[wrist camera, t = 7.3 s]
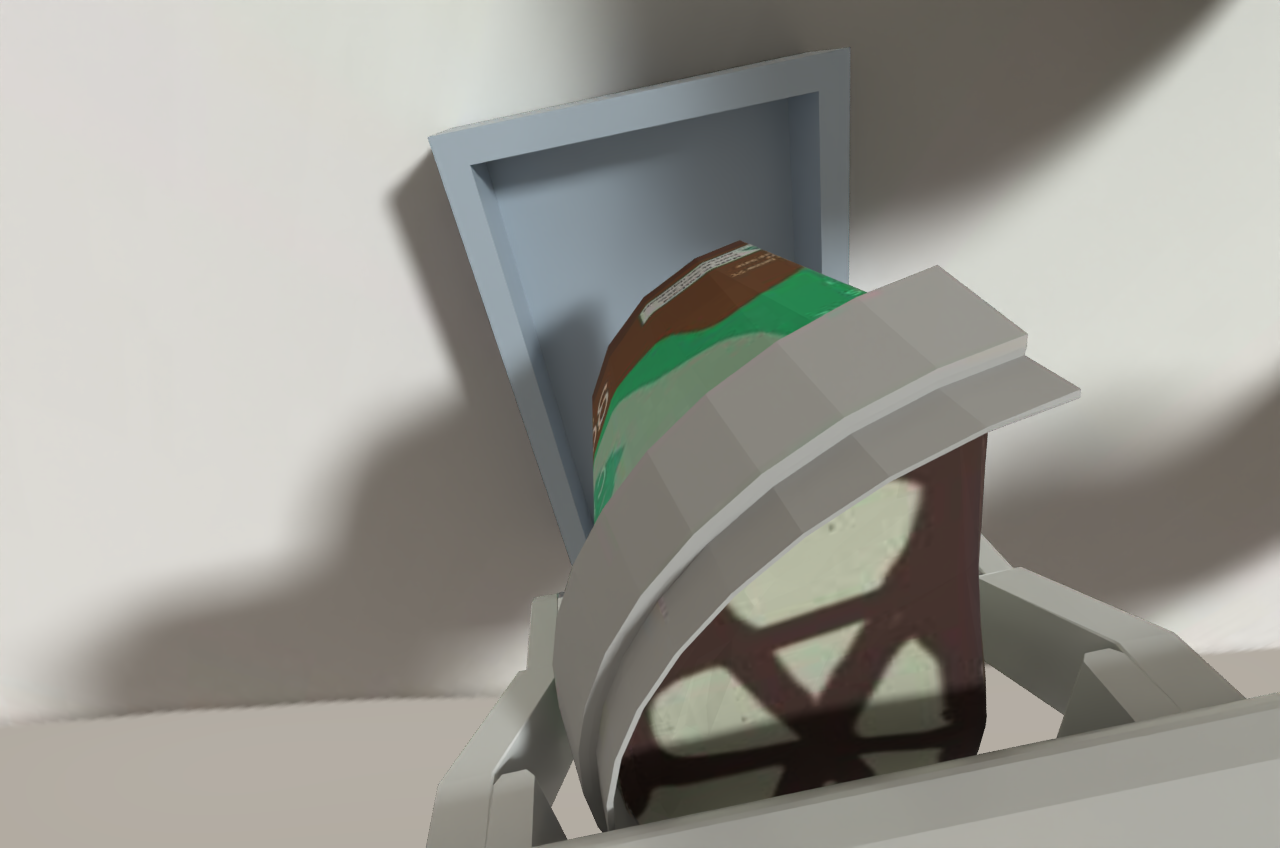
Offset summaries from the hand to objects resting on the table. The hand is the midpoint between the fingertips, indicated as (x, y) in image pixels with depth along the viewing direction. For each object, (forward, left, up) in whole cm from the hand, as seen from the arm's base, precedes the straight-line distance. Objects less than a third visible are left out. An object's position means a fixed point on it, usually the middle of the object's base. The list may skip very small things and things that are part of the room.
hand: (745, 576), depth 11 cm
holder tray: (0, 0, -11) cm, 11 cm away
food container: (+1, 0, -6) cm, 6 cm away
